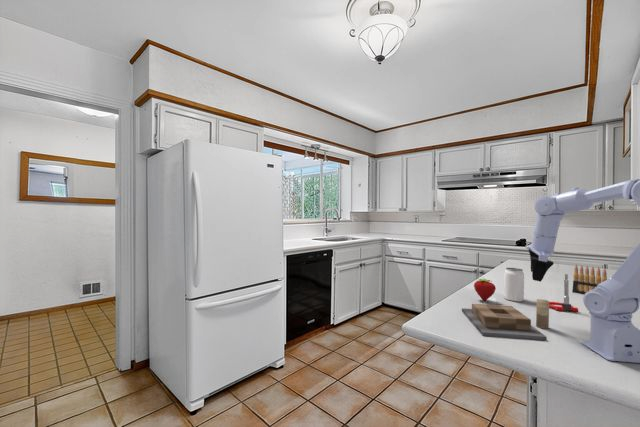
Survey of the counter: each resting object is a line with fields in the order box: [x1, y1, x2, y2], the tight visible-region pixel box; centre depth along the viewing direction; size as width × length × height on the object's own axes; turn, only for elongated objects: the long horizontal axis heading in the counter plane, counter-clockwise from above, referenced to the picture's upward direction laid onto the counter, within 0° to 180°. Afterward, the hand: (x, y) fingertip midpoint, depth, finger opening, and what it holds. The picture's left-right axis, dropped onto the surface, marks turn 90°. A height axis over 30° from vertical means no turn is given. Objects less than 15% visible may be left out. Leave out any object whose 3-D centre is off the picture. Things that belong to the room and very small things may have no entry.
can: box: [503, 267, 525, 303], centre depth 116 cm, size 6×6×12 cm
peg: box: [535, 298, 550, 330], centre depth 89 cm, size 3×3×8 cm
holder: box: [461, 303, 548, 341], centre depth 91 cm, size 20×16×4 cm
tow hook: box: [549, 273, 579, 313], centre depth 107 cm, size 8×13×9 cm
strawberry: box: [473, 278, 497, 302], centre depth 114 cm, size 6×8×10 cm
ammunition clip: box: [571, 264, 608, 296], centre depth 122 cm, size 11×2×12 cm, turn 37°
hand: (535, 276), depth 93 cm, fingers open, 7 cm apart
